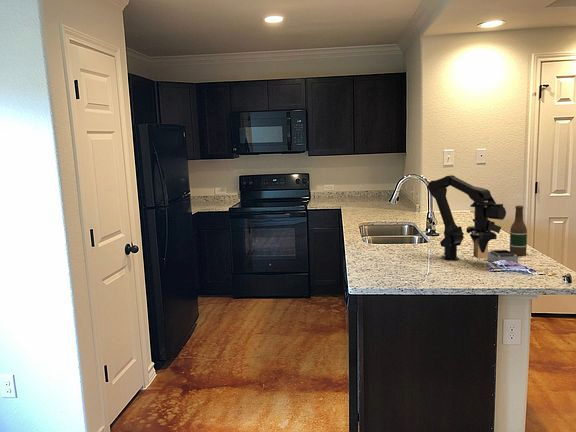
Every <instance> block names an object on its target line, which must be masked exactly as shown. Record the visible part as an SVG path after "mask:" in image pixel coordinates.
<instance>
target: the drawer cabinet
mask: <svg viewBox="0 0 576 432" xmlns="http://www.w3.org/2000/svg"><path fill="white" fill-rule="evenodd" d="M499 260H506V261H513V262H516V263H518V264H519V256H517V255H515V253H512V252H510V250H508V249H498V250H497V249H496V250H494V249H492V250H488V258H486V261H488V262H490V263H491V262H494V261H499Z"/></svg>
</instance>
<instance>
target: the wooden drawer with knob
mask: <svg viewBox="0 0 576 432" xmlns="http://www.w3.org/2000/svg"><path fill="white" fill-rule="evenodd" d="M488 252H489V243H488V244H487V246H486V249H485V252H484V253H482V252H481V249H480V246H479V243H478V240H477V239H474V242H473V255H472V256H473V257H474V258H476V259H487V258H488Z"/></svg>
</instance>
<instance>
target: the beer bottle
mask: <svg viewBox="0 0 576 432" xmlns="http://www.w3.org/2000/svg"><path fill="white" fill-rule="evenodd" d="M514 208H515V215H514V222H513V223H512V224H511V226H510V231H509V232H510V233H509V234H510V235H509V251H510V252H512V253H515V255H517V256H518V257H523V256H527V242H528V241H527V240H528V239H527V238H528V229H527V226H526V224H525V222H524V206H523V205H515V207H514Z"/></svg>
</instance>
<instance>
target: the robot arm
mask: <svg viewBox="0 0 576 432" xmlns="http://www.w3.org/2000/svg"><path fill="white" fill-rule="evenodd" d="M448 187H452V188H453V189H456V190H458V191H460V192H462V193H463V194H466V195H467V196H468V197H469V199H470V200H471V201H473V202H472V203H471V204H470V206H469V207H471V208H474V212H473V213H474V218H472V222H473V226H467V227H466V233H467V234H469V236H470V239H471V240H472V243H474V239H477V240H478V243H479V246H480V249H481V252H482V253H484V252H485V249H486V246H487V244H488V245H489V242H490V241H493V240H497V236H498V235H497V234H500V232H501V229H502V226H500V225H497V224H496V223H495V222H494V221H491V219H492V220H500V221H502V220H504V219H505V218H506V215H507V211H506V208H505V207H504V204H503V203H496V201H495V199H494V197H493V196H492V194H491V191H490V190H489V189H488V188H485V187H484V188H483V187H480V186H474V185H472V184H470V183H469V182H467V181H464V180H463V179H460V178H458V177H456V176H455V175H446V176H444V177H441V178H439V179H436V180H435V179H434V180H431V181H429V182H428V185H427V189H428V192H429V193H430V195H431V197H433V198H434V199H435V202H436V206H437V207H438V210H439V214H440V216H441V220H442V222H443V225H444V232H443V236H444V238H443V239H442V240H441V241H440V243H439V244H440V247H443V249H444V250H443V251H444V252H443V253H444V255H442V256H441V258H443V259H444V260H446V261H450V260H460V257H458V255H457V254H458V246H461V244H462V242H463V240H464V239H465V238H464V234H465V233H464V232H463V228H462V226H458V225H457V224H456V221H455V219H454V216H453V214H452V211H451V208H450V205H449V201H448V198H447V192H448V189H447V188H448Z"/></svg>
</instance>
